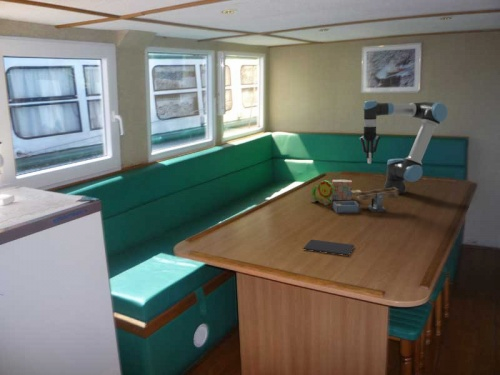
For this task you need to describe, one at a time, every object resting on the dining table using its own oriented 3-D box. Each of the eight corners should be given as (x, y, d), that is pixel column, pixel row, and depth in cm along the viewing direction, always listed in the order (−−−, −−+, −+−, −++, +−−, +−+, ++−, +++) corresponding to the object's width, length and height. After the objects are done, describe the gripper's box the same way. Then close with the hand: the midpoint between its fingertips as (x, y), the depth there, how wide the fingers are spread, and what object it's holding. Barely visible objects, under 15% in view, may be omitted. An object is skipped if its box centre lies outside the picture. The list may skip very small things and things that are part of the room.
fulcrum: (379, 206, 280) (380, 189, 278) (386, 211, 270) (387, 193, 267) (367, 207, 280) (367, 189, 277) (373, 212, 269) (373, 194, 267)
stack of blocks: (318, 199, 299) (319, 181, 296) (318, 197, 305) (318, 179, 303) (351, 200, 298) (352, 181, 295) (350, 197, 304) (351, 179, 301)
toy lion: (309, 202, 294) (310, 179, 290) (314, 200, 298) (315, 177, 294) (330, 206, 283) (331, 182, 280) (335, 204, 287) (336, 181, 284)
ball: (341, 208, 275) (340, 202, 274) (342, 209, 272) (342, 204, 271) (335, 209, 275) (335, 203, 274) (337, 210, 272) (336, 205, 271)
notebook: (303, 251, 212) (348, 257, 203) (303, 247, 212) (348, 254, 203) (311, 242, 223) (354, 248, 215) (311, 239, 223) (354, 244, 214)
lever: (389, 190, 287) (388, 183, 286) (399, 197, 270) (398, 189, 269) (351, 196, 286) (351, 189, 285) (359, 203, 270) (359, 195, 268)
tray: (354, 207, 279) (354, 200, 278) (359, 212, 269) (359, 205, 268) (332, 208, 278) (332, 201, 277) (336, 213, 268) (337, 205, 267)
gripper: (378, 124, 287) (377, 161, 293) (357, 125, 287) (357, 162, 292) (382, 126, 280) (381, 163, 286) (361, 127, 279) (361, 164, 285)
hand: (369, 163), depth 289 cm, fingers closed
